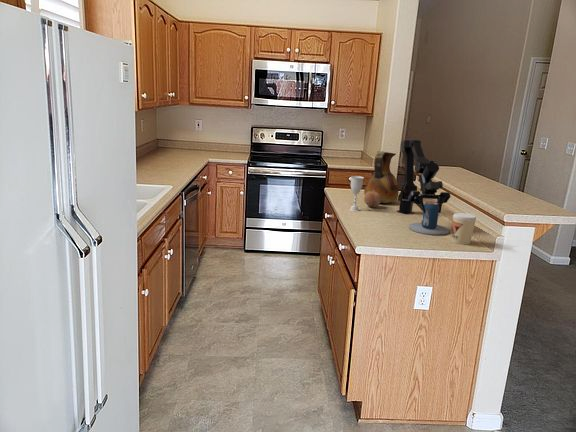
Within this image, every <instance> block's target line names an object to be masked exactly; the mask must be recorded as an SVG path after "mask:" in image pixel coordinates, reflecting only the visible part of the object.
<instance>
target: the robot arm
mask: <svg viewBox="0 0 576 432" xmlns="http://www.w3.org/2000/svg"><path fill="white" fill-rule="evenodd" d="M400 148H401V152H402V155H403V156H404V183H403V185H402V187H401V189H400V192H399V193H398V198H397V201H398V202H399V209H398V210H397V213H401V214H404V215H410V214H414V213H415V212H414V211H413V205H414V204H415V205H416V206H417V207H418V208H419V209H420V211H422V214H423V213H424V212H425V207H424V205H425V203H424V199H425V200H426V199H427V200H436V203H438V205H439V213H438V214H440V213H441V212H442V206H443V204H446V203H447V202H448V201H449V199H450V198H451V194H450V192H448V191H441V192H440V193H439V194H436V193H437V192H438V190H441V189H442V188H443V187H444V185H443V181H439V180H438V181H433V179H434V178H435V176H436V175H437V173H438V172H439V169H440V166H439V165H438V164H437V163H436V162H435V161H434V160H429V159H428V158H426V156H425V153H424V150H423V147H422V141H421V140H420V139H403V141H401V143H400ZM414 174H418V175H419V176H418V180H417V181H418V182H419V185H420V190H418V186H417V185H416V184H415V182H414V181H415V180H414V179H415V178H414V176H415V175H414Z"/></svg>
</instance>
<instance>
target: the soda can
mask: <svg viewBox="0 0 576 432" xmlns="http://www.w3.org/2000/svg"><path fill="white" fill-rule="evenodd" d="M424 207H425V212H424V213H423V212H422V216H421V217H422V218H421V223H422V227H423V228H425V229H430V230H432V229H435V228H436V227H437V225H438V219H439V214H440V213H439V205H438V203H437V201H426V202H425V203H424Z"/></svg>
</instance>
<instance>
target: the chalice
mask: <svg viewBox="0 0 576 432" xmlns="http://www.w3.org/2000/svg"><path fill="white" fill-rule="evenodd" d="M364 178H365V177H364V176H360V175H359V176H358V175H351V176H350V188H351V191H352V194H354V197H353V205H351V207H350V208H349V211H351V212H359V211H360V209H359V207H358V205H357V204H356V203H357V199H358V198H357V195H359V194H360V192H361V190H362V188H363V183H364V181H363V180H364Z"/></svg>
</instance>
